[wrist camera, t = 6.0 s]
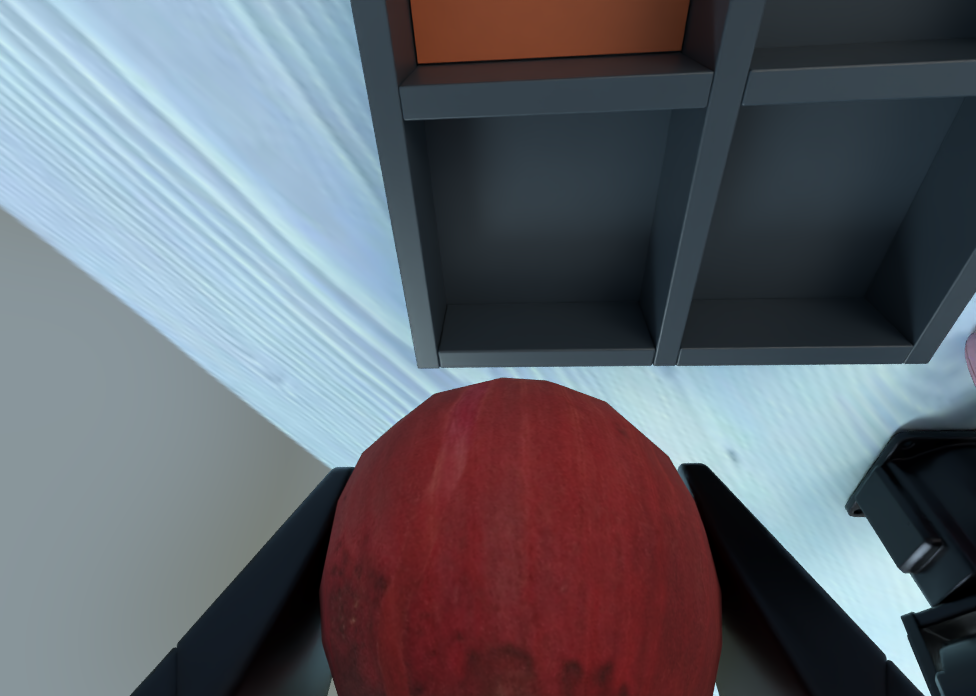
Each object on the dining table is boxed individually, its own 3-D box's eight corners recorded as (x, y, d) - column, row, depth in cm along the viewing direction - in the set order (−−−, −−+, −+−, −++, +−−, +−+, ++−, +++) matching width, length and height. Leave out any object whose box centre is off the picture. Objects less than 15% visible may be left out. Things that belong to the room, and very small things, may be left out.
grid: (1312, -541, 8) (1697, -783, 6) (869, 306, 19) (928, 364, 16) (320, -425, 10) (242, -580, 7) (430, 313, 20) (417, 369, 18)
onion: (328, 401, 11) (78, 1010, 5) (509, 224, 8) (498, 1158, 2) (517, 509, 13) (520, 1010, 7) (708, 400, 10) (1003, 1076, 4)
